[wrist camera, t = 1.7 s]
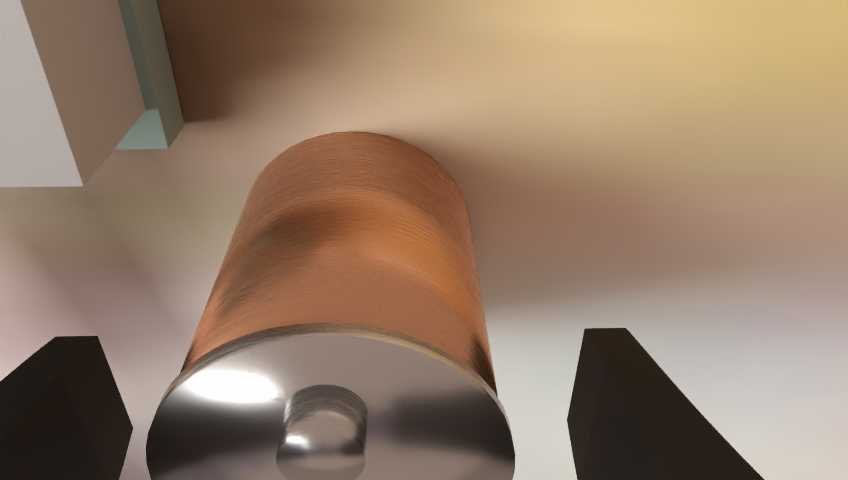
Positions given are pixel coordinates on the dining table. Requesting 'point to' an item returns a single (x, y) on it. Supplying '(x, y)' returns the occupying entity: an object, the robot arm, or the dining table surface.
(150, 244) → the dining table surface
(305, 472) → the spout can
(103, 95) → the grey green open box
